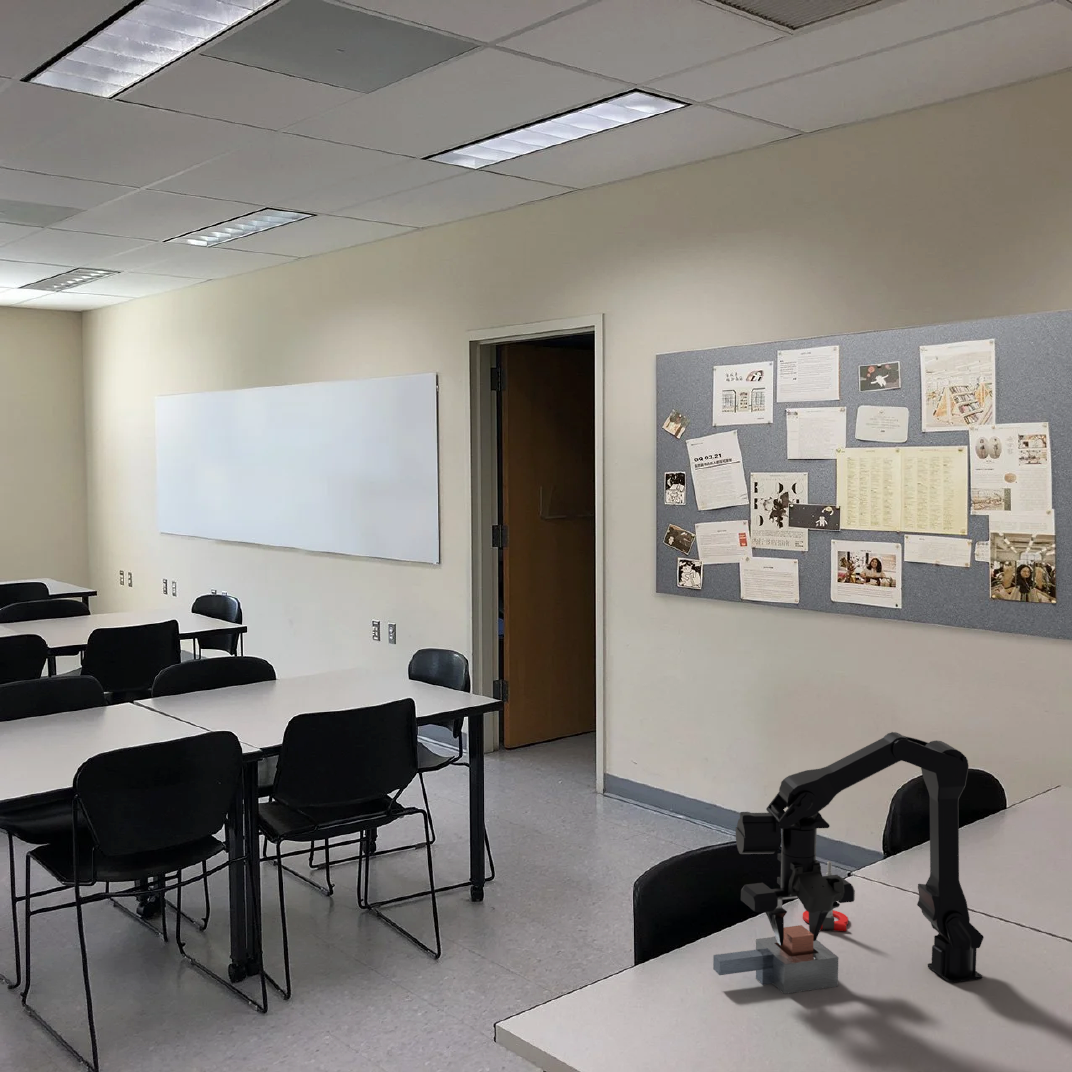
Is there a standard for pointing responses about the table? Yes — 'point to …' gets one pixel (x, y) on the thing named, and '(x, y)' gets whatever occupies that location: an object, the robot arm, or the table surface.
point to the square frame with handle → (782, 966)
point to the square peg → (797, 941)
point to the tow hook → (831, 914)
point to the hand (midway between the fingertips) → (796, 942)
